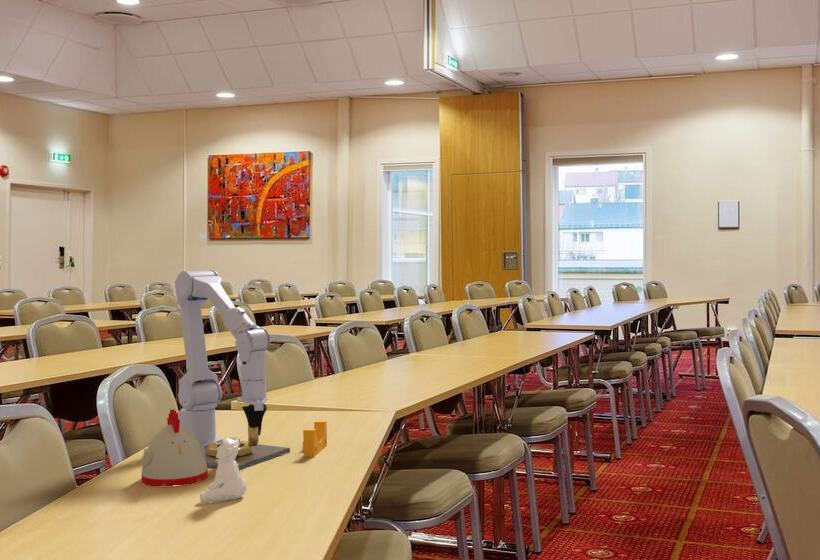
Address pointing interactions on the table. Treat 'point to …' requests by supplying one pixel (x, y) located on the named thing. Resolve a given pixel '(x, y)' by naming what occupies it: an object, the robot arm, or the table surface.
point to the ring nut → (244, 446)
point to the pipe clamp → (315, 439)
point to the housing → (250, 455)
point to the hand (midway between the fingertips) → (255, 435)
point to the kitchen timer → (174, 457)
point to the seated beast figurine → (225, 475)
